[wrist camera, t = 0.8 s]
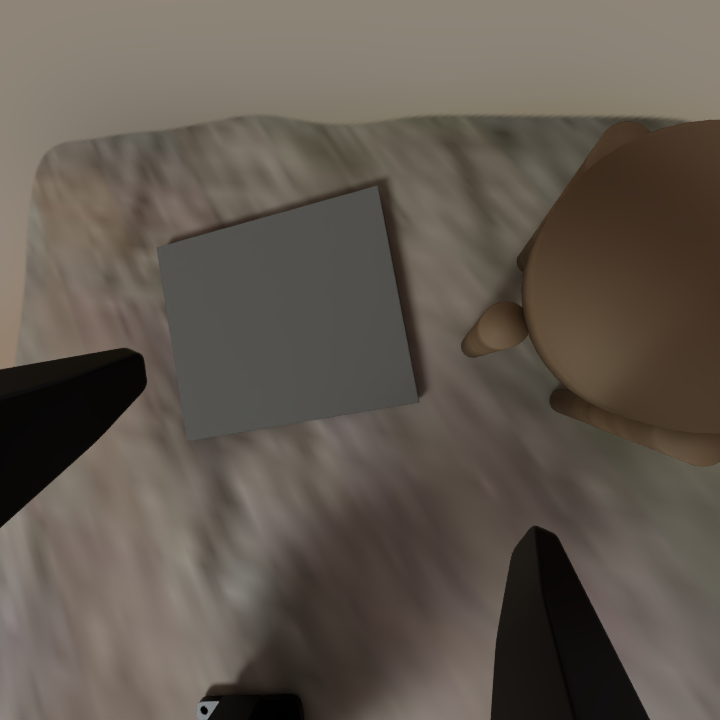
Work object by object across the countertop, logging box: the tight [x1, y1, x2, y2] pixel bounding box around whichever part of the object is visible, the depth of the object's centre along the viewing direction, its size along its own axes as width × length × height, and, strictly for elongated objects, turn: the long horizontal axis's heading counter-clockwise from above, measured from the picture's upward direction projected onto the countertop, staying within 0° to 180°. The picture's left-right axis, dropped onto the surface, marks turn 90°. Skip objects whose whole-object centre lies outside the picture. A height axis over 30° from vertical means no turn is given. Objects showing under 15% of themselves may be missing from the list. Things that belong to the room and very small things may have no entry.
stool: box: [461, 120, 720, 467], centre depth 14 cm, size 6×6×12 cm
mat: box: [157, 186, 419, 441], centre depth 23 cm, size 12×14×1 cm
